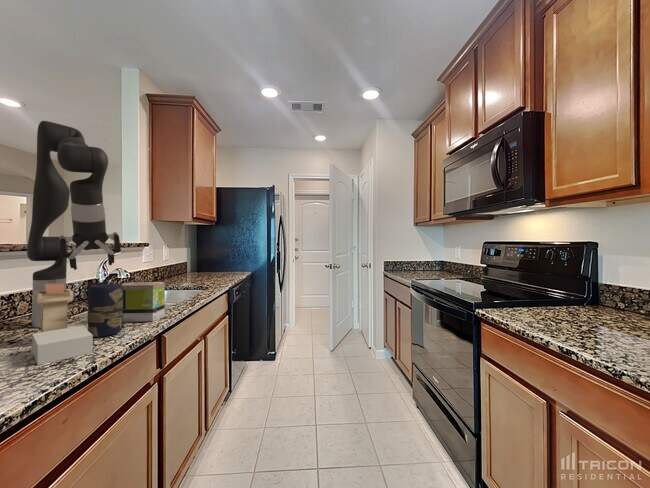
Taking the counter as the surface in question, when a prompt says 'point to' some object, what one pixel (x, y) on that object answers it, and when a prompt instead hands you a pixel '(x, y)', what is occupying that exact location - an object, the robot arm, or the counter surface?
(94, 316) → the canister
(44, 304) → the pedestal tray
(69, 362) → the counter surface
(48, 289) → the cargo block
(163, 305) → the tea box
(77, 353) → the dock
